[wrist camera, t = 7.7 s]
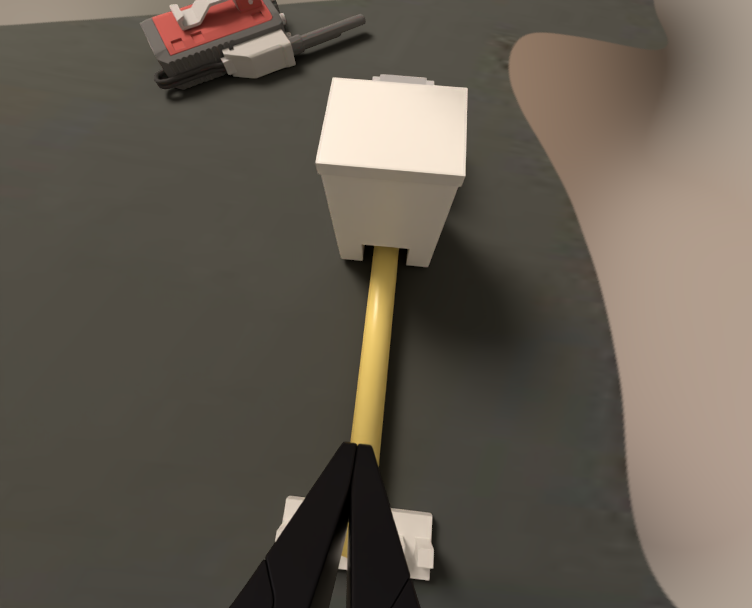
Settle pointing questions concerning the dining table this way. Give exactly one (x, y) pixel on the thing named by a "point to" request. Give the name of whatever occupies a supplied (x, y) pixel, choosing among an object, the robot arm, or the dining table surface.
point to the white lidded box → (392, 164)
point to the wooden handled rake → (381, 411)
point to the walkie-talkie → (228, 40)
